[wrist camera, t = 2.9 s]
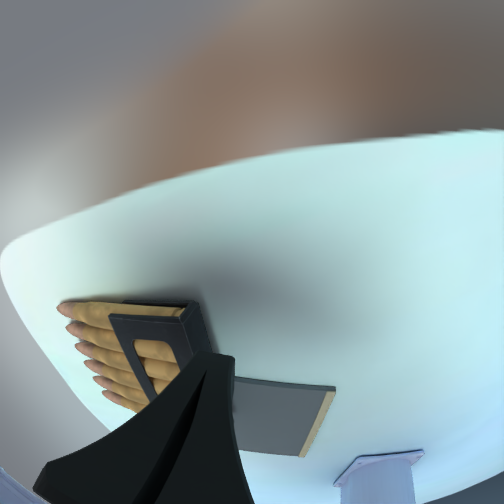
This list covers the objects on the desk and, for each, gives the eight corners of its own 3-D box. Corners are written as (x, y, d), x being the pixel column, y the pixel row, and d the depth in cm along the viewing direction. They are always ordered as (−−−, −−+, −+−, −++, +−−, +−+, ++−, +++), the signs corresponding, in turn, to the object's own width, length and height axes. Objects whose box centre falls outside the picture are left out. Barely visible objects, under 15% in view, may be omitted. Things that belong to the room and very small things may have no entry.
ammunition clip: (197, 299, 15) (60, 290, 18) (181, 320, 13) (44, 302, 16) (234, 422, 18) (111, 392, 22) (227, 441, 17) (101, 405, 20)
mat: (304, 453, 22) (304, 457, 21) (169, 431, 23) (168, 435, 23) (335, 386, 17) (335, 392, 17) (146, 358, 18) (144, 363, 18)
